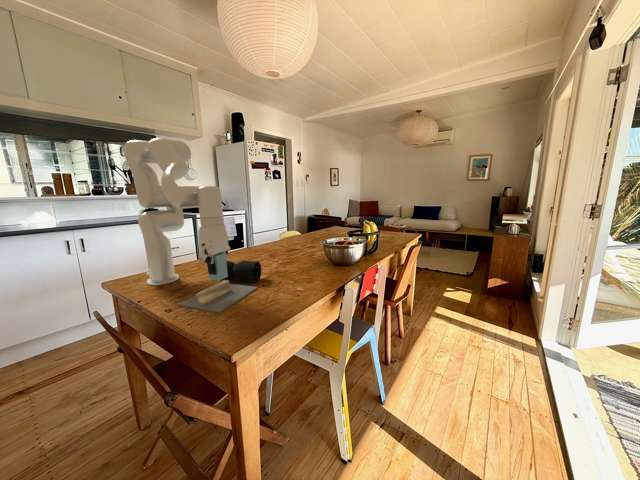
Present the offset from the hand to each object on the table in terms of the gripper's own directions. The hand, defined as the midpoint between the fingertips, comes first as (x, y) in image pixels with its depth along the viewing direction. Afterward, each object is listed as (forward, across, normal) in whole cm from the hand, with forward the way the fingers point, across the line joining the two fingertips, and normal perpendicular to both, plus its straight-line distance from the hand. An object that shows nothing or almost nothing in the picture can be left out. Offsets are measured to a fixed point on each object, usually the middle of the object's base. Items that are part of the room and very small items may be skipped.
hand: (217, 271), depth 92 cm
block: (+3, 0, 0) cm, 3 cm away
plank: (+11, 0, -3) cm, 11 cm away
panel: (+11, -2, -2) cm, 11 cm away
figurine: (+11, -19, -6) cm, 23 cm away
